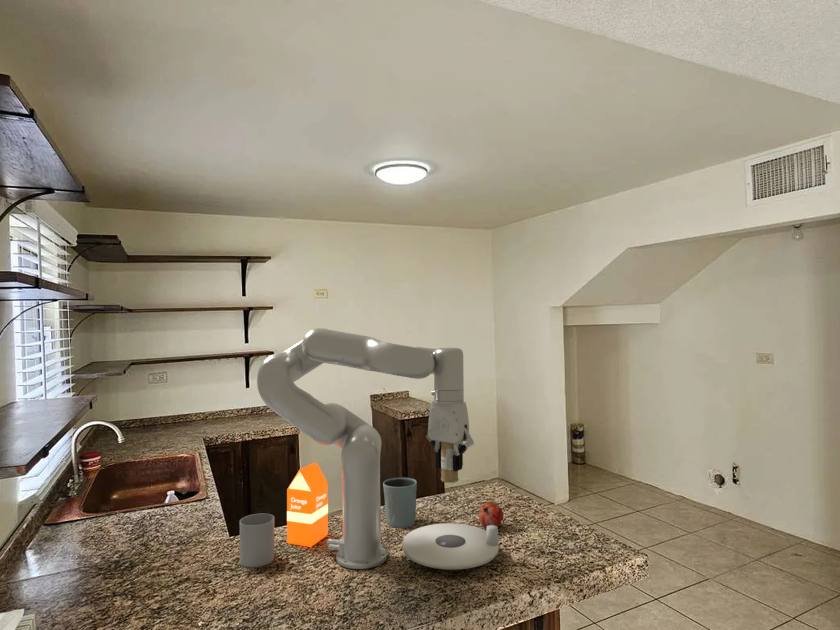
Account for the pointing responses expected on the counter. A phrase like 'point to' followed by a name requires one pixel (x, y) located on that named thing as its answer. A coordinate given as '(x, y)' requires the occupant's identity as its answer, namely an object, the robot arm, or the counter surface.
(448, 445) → the sprinkles bottle
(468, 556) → the turntable
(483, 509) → the pomegranate
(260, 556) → the cup
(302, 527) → the orange juice
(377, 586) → the counter surface
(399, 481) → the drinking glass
